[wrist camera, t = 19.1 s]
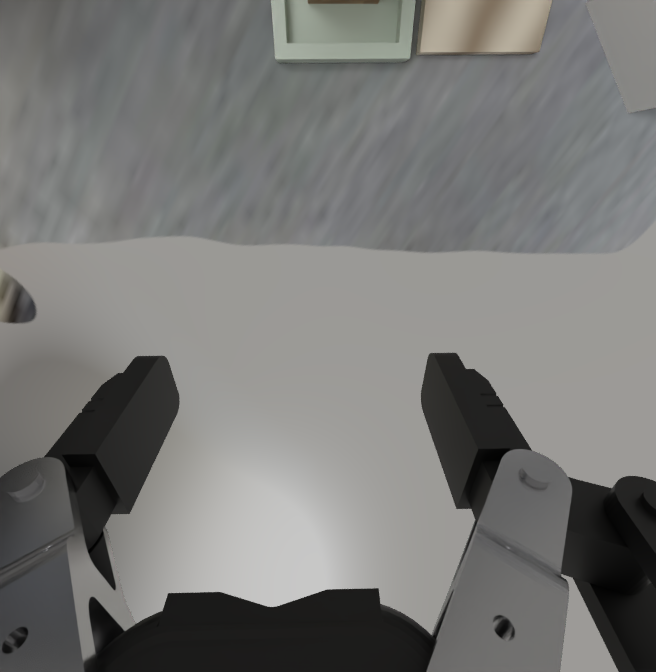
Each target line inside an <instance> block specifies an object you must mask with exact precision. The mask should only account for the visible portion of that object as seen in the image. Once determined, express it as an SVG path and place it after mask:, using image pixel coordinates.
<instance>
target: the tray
mask: <svg viewBox="0 0 656 672" xmlns="http://www.w3.org/2000/svg"><path fill="white" fill-rule="evenodd" d="M415 1H416V0H380V1H379V3H378V4H308V0H271V6H272V20H273V34H274V48H275V60H276V61H277V62H278V63H372V62H405V61H407V60H408V59H410V53H411V42H412V32H413V22H414V11H415Z"/></svg>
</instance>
